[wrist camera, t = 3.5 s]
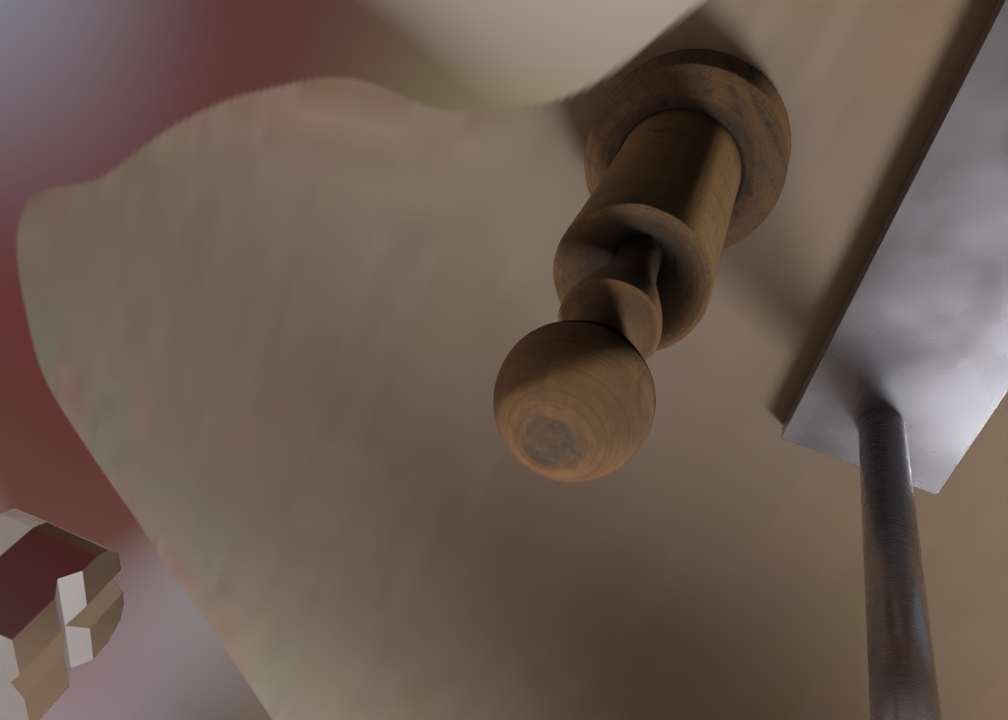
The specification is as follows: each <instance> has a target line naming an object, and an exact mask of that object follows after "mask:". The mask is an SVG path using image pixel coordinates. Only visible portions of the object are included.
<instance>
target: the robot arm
mask: <svg viewBox="0 0 1008 720" xmlns="http://www.w3.org/2000/svg"><path fill="white" fill-rule="evenodd" d="M120 570H121V566H120V559H119V553H118V552H116V551H114V550H112V549H109V548H107V547H105V546H102V545H100V544H97V543H95V542H93V541H90V540H88V539H86V538H83V537H81V536H78V535H76V534H74V533H71V532H69V531H67V530H64V529H62V528H59V527H57V526H55V525H53V524H51V523H49V522H47V521H44V520H42V519H40V518H37V517H35V516H32V515H30V514H27V513H25V512H22V511H20V510H17V509H12V510H10V511H7V512H5V513H2V514H0V717H2V718H5V719H7V720H40V718H41V717H42V716H43V715H44V714H45V713H46V712H47V711H48V709H49V708H50V707H51V706H52V705H53V704H54V703H55V702H56V700H57V699H58V698H59V697H60V696H61V695H62V694H63V693H64V692H65V690H66V689H67V688H68V687H69V680H70V671H71V668H73V667H75V666H78V665H80V664H83V663H85V662H87V661H90V660H92V659H94V658H95V657H96V655H97V654H98V653H99V652H100V651H101V650H102V648H103V647H104V646H105V645H106V644H107V643H108V641H109V640H110V638H111V636H112V634H113V632H114V630H115V628H116V627H117V625H118V623H119V621H120V619H121V615H122V610H123V606H124V599H123V591H122V590H121V588H120V587H119V586H118V584H117V583H116V581H115V580H114V576H115V575H116V574H117V573H118V572H119V571H120Z"/></svg>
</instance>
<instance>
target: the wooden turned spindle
mask: <svg viewBox="0 0 1008 720" xmlns="http://www.w3.org/2000/svg"><path fill="white" fill-rule="evenodd" d="M790 149H791V132H790V124H789V119H788V115H787V112H786V109H785V106H784V104H783V102H782V100H781V98H780V96H779V94H778V93H777V91H776V90H775V88H774V87H773V85H772V84H771V83H770V82H769V81H768V80H767V79H766V78H765V77H764V76H763V75H762V74H761V73H760V72H759V71H758V70H756V69H755V68H754V67H752V66H751V65H749V64H748V63H746V62H744V61H742V60H740V59H738V58H736V57H734V56H731V55H728V54H725V53H722V52H717V51H712V50H705V49H688V50H680V51H675V52H671V53H667V54H664V55H662V56H659V57H657V58H655V59H652V60H650V61H649V62H647V63H645V64H643V65H642V66H640V67H639V68H637V69H636V70H635V71H633V72H632V73H631V74H630V75H629V76H627V77H626V78H625V79H624V80H623V81H622V82H621V84H620V85H619V86H618V87H617V88H616V89H615V91H614V92H613V93H612V95H611V96H610V97H609V99H608V100H607V101H606V102H605V104H604V105H603V107H602V108H601V110H600V111H599V113H598V115H597V117H596V119H595V121H594V123H593V125H592V127H591V130H590V133H589V136H588V140H587V144H586V150H585V176H586V182H587V186H588V190H589V193H590V198H589V199H588V201H587V202H586V204H585V205H584V207H583V208H582V210H581V211H580V212H579V214H578V215H577V217H576V218H575V220H574V221H573V222H572V224H571V225H570V227H569V228H568V230H567V231H566V233H565V234H564V236H563V237H562V239H561V241H560V243H559V245H558V248H557V251H556V255H555V259H554V265H553V277H554V284H555V288H556V292H557V295H558V298H559V300H560V302H561V306H560V309H559V314H558V322H555V323H551V324H548V325H544V326H542V327H540V328H538V329H536V330H534V331H532V332H530V333H529V334H527V335H526V336H525V337H524V338H522V339H521V340H520V341H519V342H518V343H517V344H516V345H515V346H514V347H513V348H512V350H511V351H510V352H509V354H508V355H507V357H506V359H505V360H504V362H503V364H502V366H501V369H500V371H499V374H498V377H497V380H496V384H495V389H494V413H495V419H496V424H497V427H498V429H499V432H500V434H501V436H502V438H503V440H504V442H505V444H506V445H507V447H508V448H509V449H510V451H511V452H512V453H513V455H514V456H515V457H516V458H517V459H518V460H519V461H520V462H522V463H523V464H524V465H525V466H527V467H528V468H530V469H531V470H533V471H534V472H536V473H538V474H540V475H542V476H545V477H548V478H551V479H554V480H559V481H568V482H581V481H588V480H592V479H596V478H599V477H602V476H605V475H607V474H609V473H611V472H613V471H615V470H616V469H618V468H619V467H621V466H622V465H623V464H625V463H626V462H627V461H628V460H629V459H630V458H631V457H632V456H633V455H634V454H635V453H636V452H637V451H638V449H639V448H640V446H641V445H642V444H643V442H644V440H645V438H646V437H647V435H648V432H649V430H650V427H651V425H652V421H653V417H654V412H655V403H656V397H655V388H654V383H653V379H652V376H651V373H650V370H649V368H648V366H647V364H646V362H645V361H646V360H647V359H648V358H649V357H650V356H651V355H652V354H653V353H654V351H655V350H660V349H663V348H666V347H668V346H671V345H673V344H675V343H676V342H678V341H680V340H681V339H683V338H684V337H685V336H686V335H688V334H689V333H690V332H691V331H692V330H693V329H694V328H695V327H696V325H697V324H698V323H699V321H700V320H701V318H702V317H703V315H704V313H705V311H706V309H707V306H708V303H709V300H710V297H711V293H712V289H713V285H714V281H715V276H716V272H717V268H718V264H719V260H720V257H721V253H722V249H725V248H727V247H729V246H731V245H733V244H735V243H737V242H739V241H740V240H742V239H743V238H745V237H746V236H747V235H749V234H750V233H751V232H752V231H754V230H755V229H756V228H757V227H758V226H759V225H760V224H761V223H762V222H763V221H764V219H765V218H766V217H767V216H768V214H769V213H770V212H771V210H772V209H773V207H774V205H775V204H776V202H777V200H778V198H779V196H780V194H781V191H782V188H783V186H784V182H785V178H786V174H787V168H788V162H789V157H790Z"/></svg>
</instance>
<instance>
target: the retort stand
mask: <svg viewBox="0 0 1008 720" xmlns="http://www.w3.org/2000/svg"><path fill="white" fill-rule="evenodd" d="M1007 391H1008V0H998V1H997V3H996V5H995V7H994V9H993V11H992V13H991V15H990V17H989V19H988V21H987V23H986V25H985V27H984V29H983V31H982V33H981V35H980V37H979V39H978V41H977V43H976V45H975V47H974V49H973V51H972V53H971V54H970V56H969V58H968V60H967V62H966V64H965V66H964V68H963V70H962V72H961V74H960V76H959V78H958V80H957V82H956V84H955V86H954V88H953V90H952V92H951V94H950V96H949V98H948V100H947V102H946V104H945V106H944V108H943V110H942V112H941V114H940V116H939V118H938V120H937V122H936V123H935V125H934V127H933V129H932V131H931V133H930V135H929V137H928V139H927V141H926V143H925V145H924V147H923V149H922V151H921V153H920V155H919V157H918V159H917V161H916V163H915V165H914V167H913V169H912V171H911V173H910V175H909V177H908V179H907V181H906V183H905V185H904V187H903V189H902V191H901V192H900V194H899V196H898V198H897V200H896V202H895V204H894V206H893V208H892V210H891V212H890V214H889V216H888V218H887V220H886V222H885V224H884V226H883V228H882V230H881V232H880V234H879V236H878V238H877V240H876V242H875V244H874V246H873V248H872V250H871V252H870V254H869V256H868V258H867V260H866V261H865V263H864V265H863V267H862V269H861V271H860V273H859V275H858V277H857V279H856V281H855V283H854V285H853V287H852V289H851V291H850V293H849V295H848V297H847V299H846V301H845V303H844V305H843V307H842V309H841V311H840V313H839V315H838V317H837V319H836V321H835V323H834V325H833V327H832V329H831V330H830V332H829V334H828V336H827V338H826V340H825V342H824V344H823V346H822V348H821V350H820V352H819V354H818V356H817V358H816V360H815V362H814V364H813V366H812V368H811V370H810V372H809V374H808V376H807V378H806V380H805V382H804V384H803V386H802V388H801V390H800V392H799V394H798V396H797V398H796V399H795V401H794V403H793V405H792V407H791V409H790V411H789V413H788V415H787V417H786V419H785V421H784V423H783V426H782V437H781V438H782V439H785V440H787V441H790V442H793V443H796V444H798V445H801V446H804V447H807V448H809V449H812V450H815V451H818V452H821V453H823V454H826V455H829V456H832V457H834V458H837V459H840V460H843V461H845V462H848V463H851V464H854V465H856V466H859V467H860V481H861V505H862V529H863V553H864V577H865V600H866V624H867V648H868V672H869V696H870V719H871V720H942V718H941V710H940V702H939V694H938V686H937V678H936V670H935V662H934V653H933V645H932V637H931V629H930V621H929V613H928V605H927V597H926V588H925V580H924V572H923V564H922V556H921V548H920V540H919V532H918V523H917V515H916V507H915V499H914V491H913V486H914V487H917V488H920V489H923V490H925V491H928V492H931V493H934V494H936V495H937V494H938V492H939V491H940V489H941V488H942V486H943V485H944V483H945V482H946V480H947V479H948V478H949V476H950V475H951V473H952V472H953V470H954V469H955V467H956V466H957V464H958V463H959V461H960V460H961V458H962V457H963V456H964V454H965V453H966V451H967V450H968V448H969V447H970V445H971V444H972V442H973V441H974V439H975V438H976V436H977V435H978V434H979V432H980V431H981V429H982V428H983V426H984V425H985V423H986V422H987V420H988V419H989V417H990V416H991V414H992V413H993V412H994V410H995V409H996V407H997V406H998V404H999V403H1000V401H1001V400H1002V398H1003V397H1004V395H1005V394H1006V392H1007Z"/></svg>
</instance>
